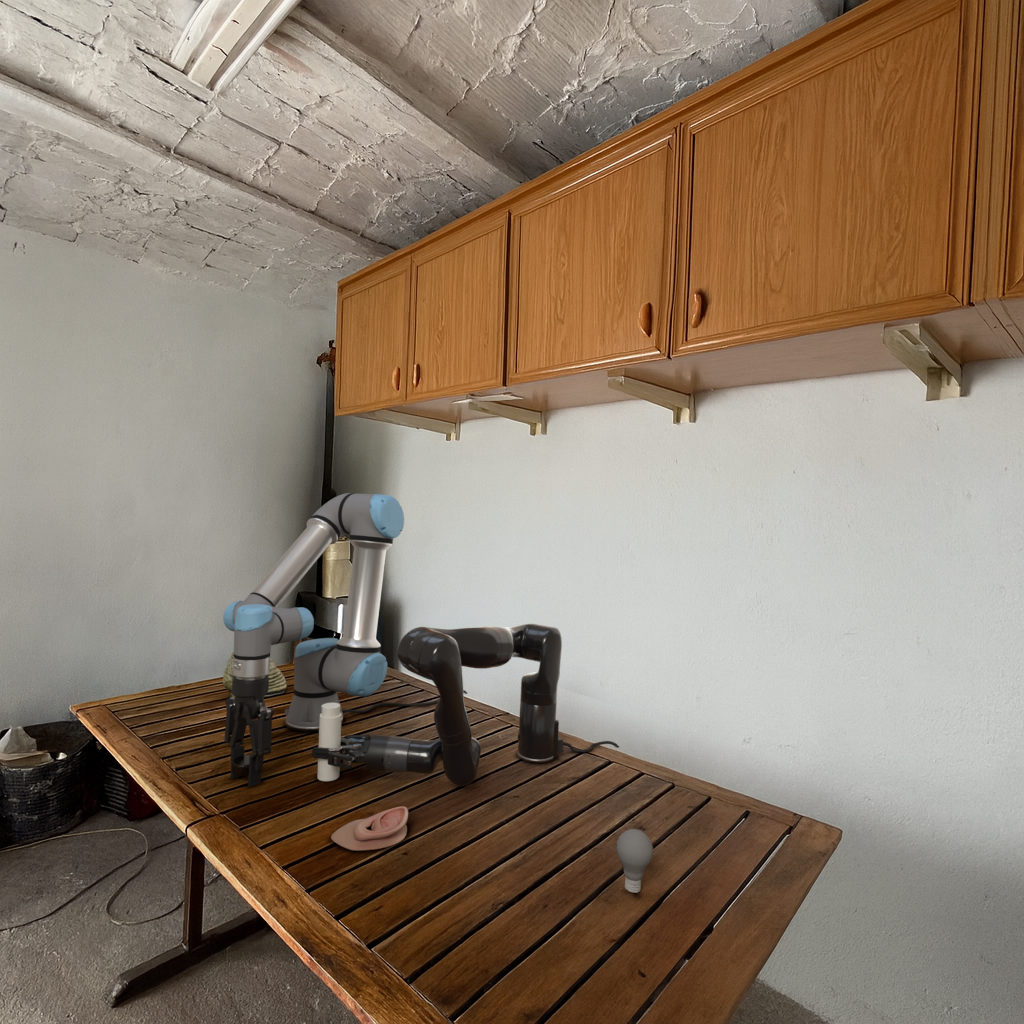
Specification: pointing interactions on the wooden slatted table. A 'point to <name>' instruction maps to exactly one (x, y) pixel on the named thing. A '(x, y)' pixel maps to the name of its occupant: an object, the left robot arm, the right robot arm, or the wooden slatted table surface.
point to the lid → (241, 765)
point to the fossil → (275, 676)
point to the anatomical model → (374, 830)
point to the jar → (329, 739)
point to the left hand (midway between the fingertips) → (245, 780)
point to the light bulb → (634, 857)
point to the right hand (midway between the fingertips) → (318, 747)
